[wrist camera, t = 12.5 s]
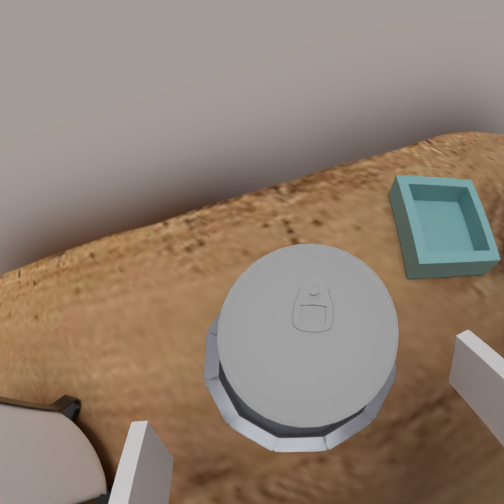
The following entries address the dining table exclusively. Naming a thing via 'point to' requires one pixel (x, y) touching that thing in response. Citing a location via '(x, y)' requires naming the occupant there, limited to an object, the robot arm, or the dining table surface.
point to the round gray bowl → (273, 432)
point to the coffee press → (47, 455)
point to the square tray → (441, 227)
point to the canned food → (307, 335)
